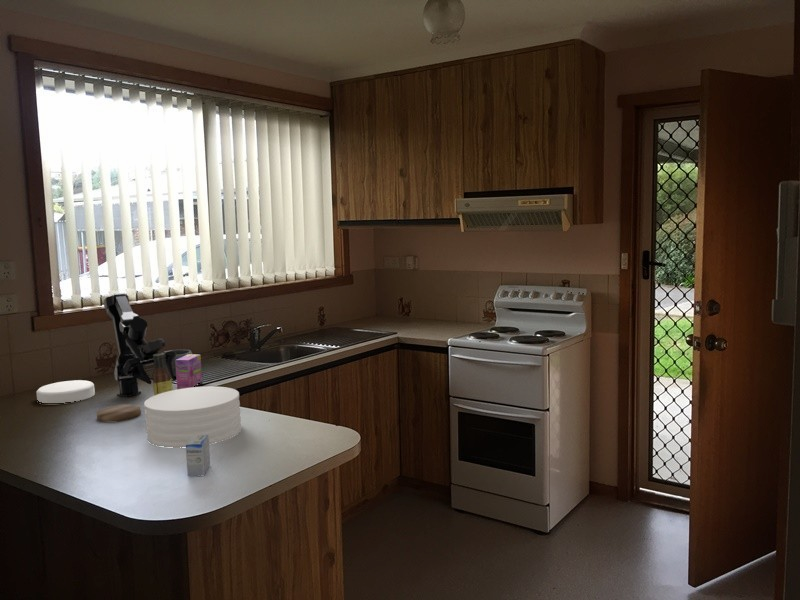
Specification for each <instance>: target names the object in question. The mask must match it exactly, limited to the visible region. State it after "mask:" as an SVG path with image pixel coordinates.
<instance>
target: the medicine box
mask: <svg viewBox="0 0 800 600" xmlns="http://www.w3.org/2000/svg"><path fill="white" fill-rule="evenodd" d="M210 455H211V454H210V445H209V438H208V435H193V436H192V437H191V438H190V440H189V441H188V443H187V444H186V448H185V457H186V459H185V460H186V471H187V477H188V476H196V477H199V476H198V475H204V476H206V473H207V471H208V469H209V467H210V465H211V457H210Z"/></svg>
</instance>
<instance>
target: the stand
mask: <svg viewBox="0 0 800 600" xmlns="http://www.w3.org/2000/svg"><path fill="white" fill-rule="evenodd" d="M141 409H142V408H141V406H140V405H138V404H127V403H126V404H118V405H112V406H108V407H105V408H101V409H99V410H97V411H96V419H98V420H100V421H99V422H102V421H117V422H123V421H122V420H124V421H127V419H128V420H132V419H135V418H137V417H139V416H141V414H142V410H141ZM134 417H135V418H134ZM131 418H132V419H131ZM98 420H97V421H98Z"/></svg>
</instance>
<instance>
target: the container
mask: <svg viewBox="0 0 800 600" xmlns="http://www.w3.org/2000/svg"><path fill="white" fill-rule="evenodd" d="M35 392H36V401H37V400H38V401H39V402H42V403H64V404H66V403H65V402H71V403H75V402H74V401H76V402H80V400H81V401H84V400H87V399H90V398H92V397H94V396H95V394H96V392H95V384H94V383H93V382H92V381H89V380H82V379H77V380H76V379H74V380H66V381H57V382H54V383H49V384H45V385H42V386H41V387H39V388H38V389H37V390H36V391H35ZM38 401H37V402H38Z"/></svg>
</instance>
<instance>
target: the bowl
mask: <svg viewBox="0 0 800 600" xmlns="http://www.w3.org/2000/svg"><path fill="white" fill-rule="evenodd" d="M172 351H174V353H175V354H176V356H175V358H174V359H173V361H172V370H173V375H174V377H176V364H175V360H176V359H179V358H181V357H183V356H185V355H188V354H193V352H192V350H190V349H172ZM163 352H164V351H162V352H161V353H163Z"/></svg>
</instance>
